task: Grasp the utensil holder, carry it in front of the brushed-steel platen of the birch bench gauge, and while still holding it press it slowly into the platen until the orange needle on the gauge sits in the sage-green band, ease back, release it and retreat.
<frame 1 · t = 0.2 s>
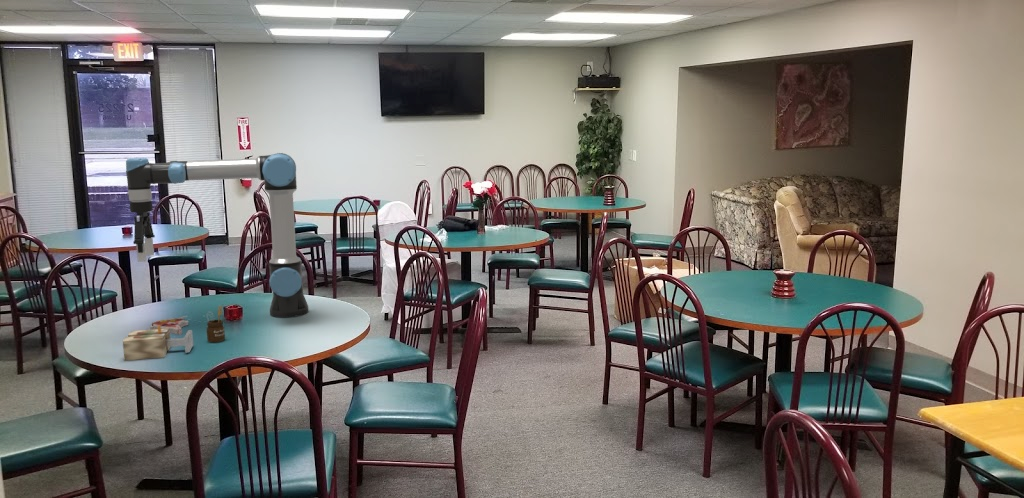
hand: (146, 258, 284), 28 cm above the table, fingers open, 13 cm apart
gauge housing: (148, 353, 261), on the table
toy: (172, 331, 291), on the table
utensil holder: (216, 340, 275), on the table
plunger: (167, 337, 261), point 5 cm above the table, slide at 0.0 cm
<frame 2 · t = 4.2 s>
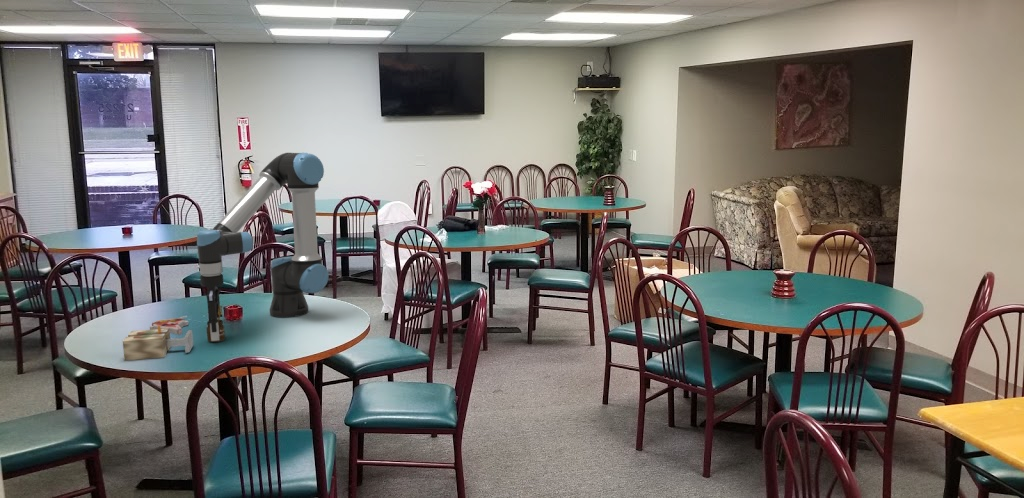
hand: (216, 337, 275), 1 cm above the table, fingers closed on utensil holder, 6 cm apart
utensil holder: (216, 340, 275), on the table, touching gripper
everything else where it was.
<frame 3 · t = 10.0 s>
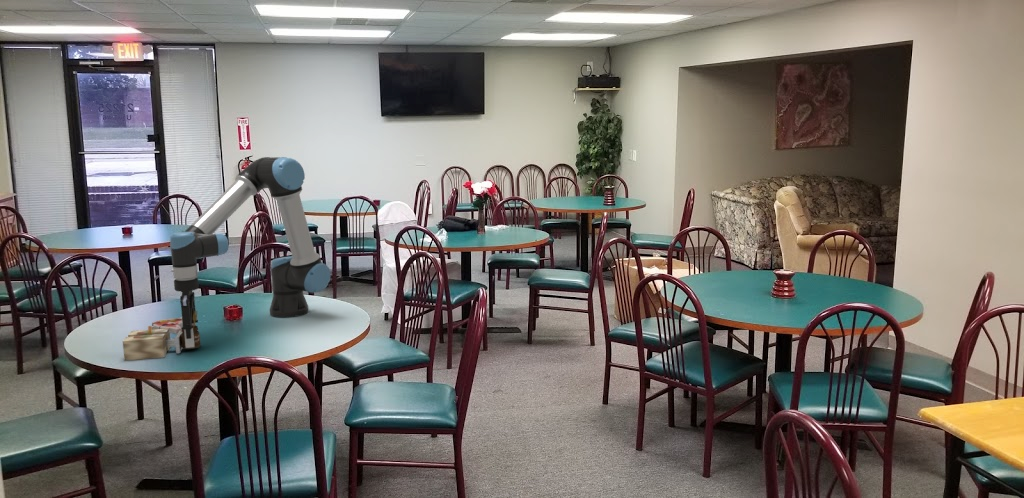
hand: (191, 344, 264), 2 cm above the table, fingers closed on utensil holder, 6 cm apart
utensil holder: (191, 347, 264), point 1 cm above the table, touching gripper
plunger: (158, 338, 261), point 5 cm above the table, slide at 2.9 cm
everything else where it was.
when the fingers open (2 cm above the table, at t = 11.2 s): utensil holder stays where it is, on the table.
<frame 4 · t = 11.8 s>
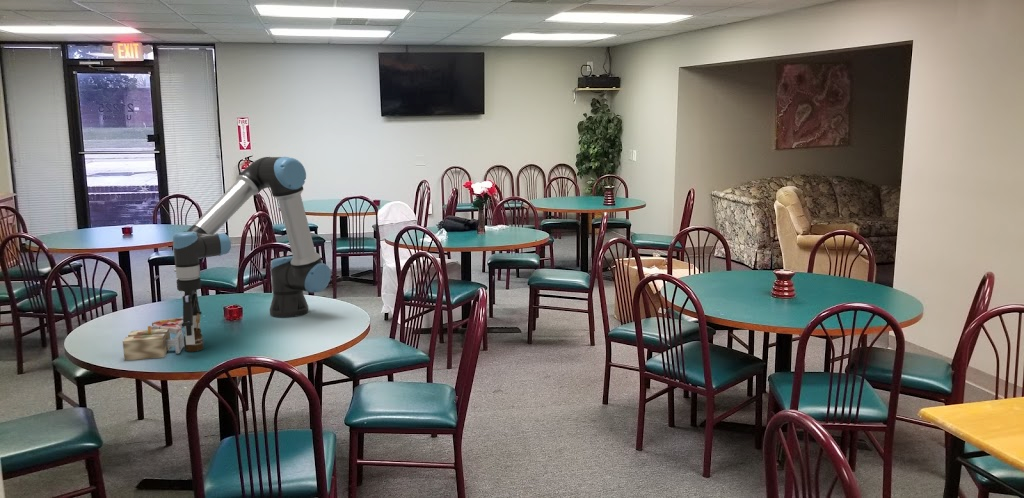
hand: (193, 339, 264), 4 cm above the table, fingers open, 13 cm apart
utensil holder: (194, 350, 264), on the table
everything else where it was.
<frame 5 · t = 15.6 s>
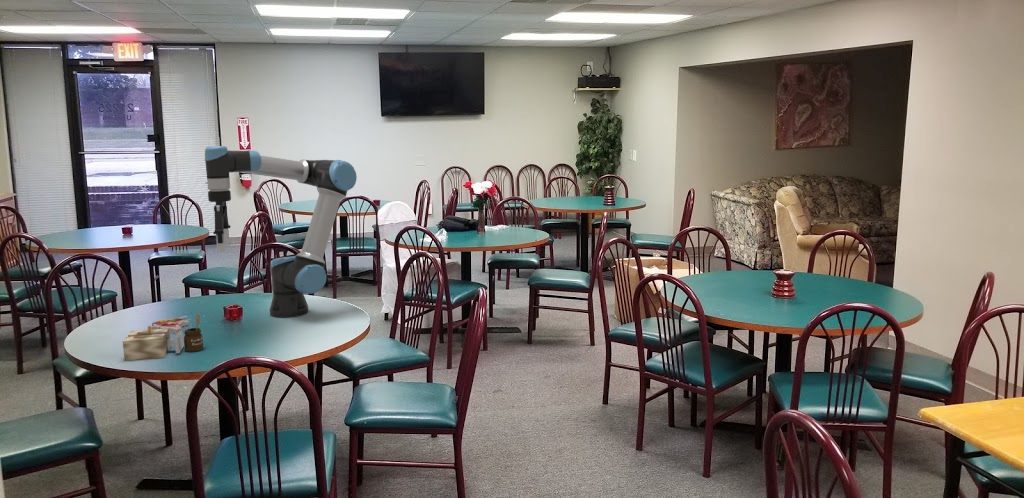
hand: (223, 249, 277), 32 cm above the table, fingers open, 13 cm apart
nothing on the table moved.
at the end: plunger slide at 3.0 cm; utensil holder tilted 0°; utensil holder inside the target area (2.0 cm from its centre), on the table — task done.
